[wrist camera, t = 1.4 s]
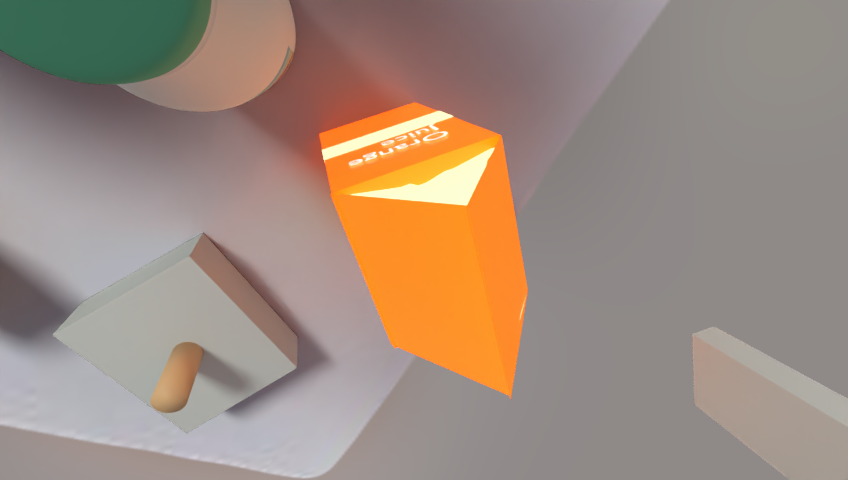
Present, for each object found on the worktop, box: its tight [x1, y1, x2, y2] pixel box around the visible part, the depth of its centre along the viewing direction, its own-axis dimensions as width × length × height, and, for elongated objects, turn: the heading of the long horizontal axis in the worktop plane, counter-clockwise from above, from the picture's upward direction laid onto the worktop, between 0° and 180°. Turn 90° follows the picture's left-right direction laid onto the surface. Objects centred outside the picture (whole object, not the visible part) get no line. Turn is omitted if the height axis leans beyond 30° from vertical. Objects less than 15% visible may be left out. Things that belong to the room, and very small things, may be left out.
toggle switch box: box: [53, 233, 298, 433], centre depth 28 cm, size 12×10×8 cm
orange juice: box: [319, 103, 528, 398], centre depth 22 cm, size 8×9×20 cm
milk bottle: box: [0, 0, 296, 112], centre depth 16 cm, size 8×8×20 cm
